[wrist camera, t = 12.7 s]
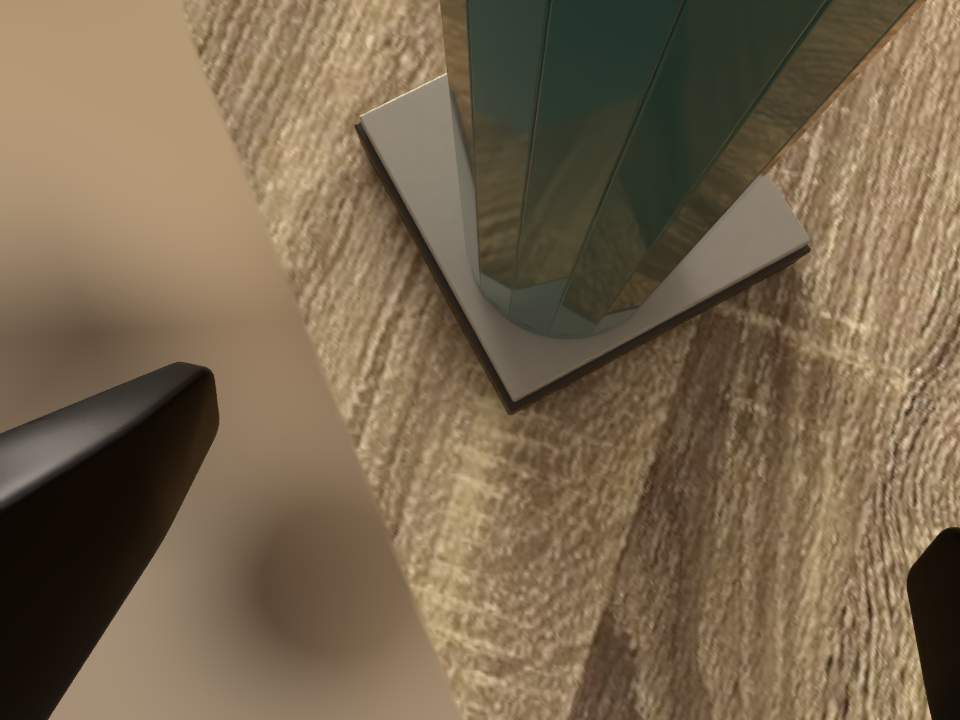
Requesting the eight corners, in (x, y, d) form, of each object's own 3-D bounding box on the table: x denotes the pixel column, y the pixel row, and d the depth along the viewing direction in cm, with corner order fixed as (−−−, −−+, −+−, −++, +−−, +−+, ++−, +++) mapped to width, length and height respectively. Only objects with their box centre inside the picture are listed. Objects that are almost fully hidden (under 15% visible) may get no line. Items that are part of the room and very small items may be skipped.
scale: (509, 416, 19) (511, 410, 18) (360, 143, 21) (348, 113, 19) (793, 263, 20) (822, 242, 18) (628, 10, 22) (641, -31, 20)
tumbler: (620, 371, 18) (1692, -459, 2) (434, 291, 18) (79, -899, 2) (694, 194, 19) (1847, -1376, 3) (514, 122, 19) (637, -1575, 3)
